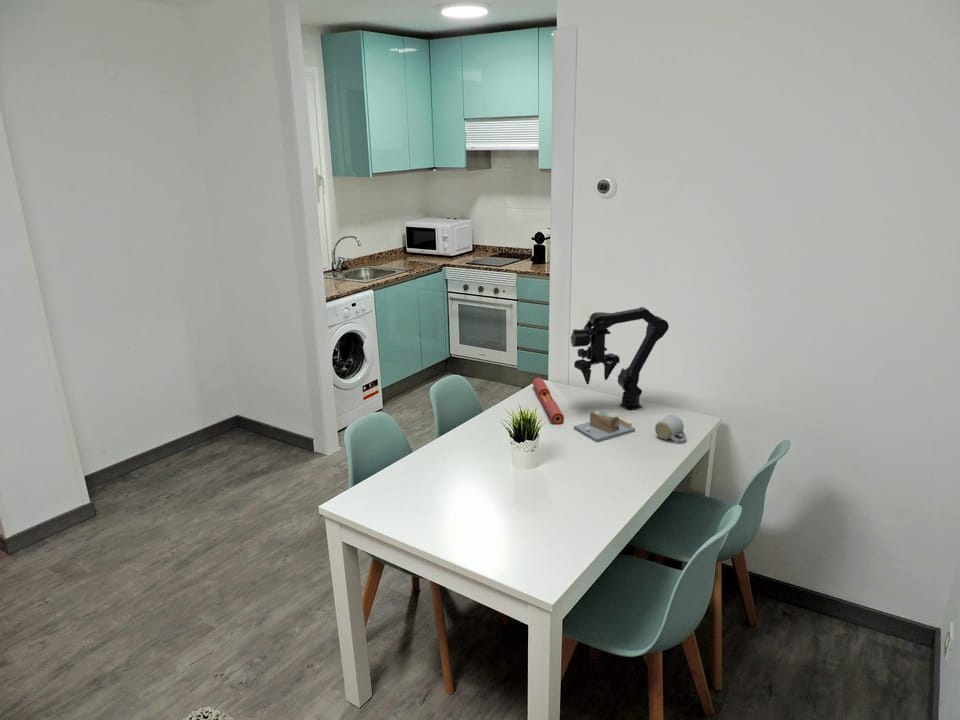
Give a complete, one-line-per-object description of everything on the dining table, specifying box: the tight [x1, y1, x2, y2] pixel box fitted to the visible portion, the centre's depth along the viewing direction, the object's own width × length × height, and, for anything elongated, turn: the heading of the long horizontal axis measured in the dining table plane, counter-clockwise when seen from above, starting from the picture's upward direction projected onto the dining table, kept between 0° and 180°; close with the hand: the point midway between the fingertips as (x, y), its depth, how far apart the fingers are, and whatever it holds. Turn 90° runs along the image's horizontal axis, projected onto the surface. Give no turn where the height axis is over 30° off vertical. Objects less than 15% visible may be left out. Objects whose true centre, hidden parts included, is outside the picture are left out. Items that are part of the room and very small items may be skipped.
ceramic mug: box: [654, 414, 687, 444], centre depth 240 cm, size 11×8×8 cm
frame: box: [589, 409, 620, 433], centre depth 248 cm, size 5×10×5 cm, turn 37°
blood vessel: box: [532, 377, 565, 425], centre depth 275 cm, size 42×5×5 cm, turn 6°
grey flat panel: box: [573, 412, 636, 443], centre depth 249 cm, size 18×14×3 cm
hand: (596, 381), depth 265 cm, fingers open, 9 cm apart
